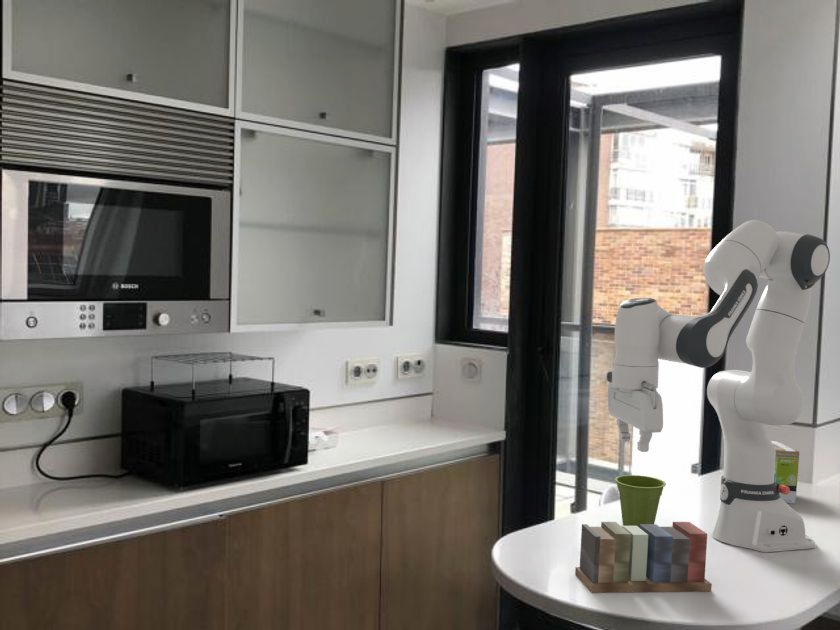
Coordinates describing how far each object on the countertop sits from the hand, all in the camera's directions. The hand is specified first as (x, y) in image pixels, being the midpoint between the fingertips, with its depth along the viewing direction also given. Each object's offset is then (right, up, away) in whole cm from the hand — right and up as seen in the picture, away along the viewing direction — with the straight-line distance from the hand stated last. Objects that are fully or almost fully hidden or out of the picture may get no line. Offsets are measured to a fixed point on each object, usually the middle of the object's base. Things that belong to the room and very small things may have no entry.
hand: (633, 446), depth 181 cm
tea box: (+54, -25, +69) cm, 91 cm away
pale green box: (-2, -25, -6) cm, 25 cm away
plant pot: (+9, -25, +33) cm, 42 cm away
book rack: (0, -26, -6) cm, 27 cm away
